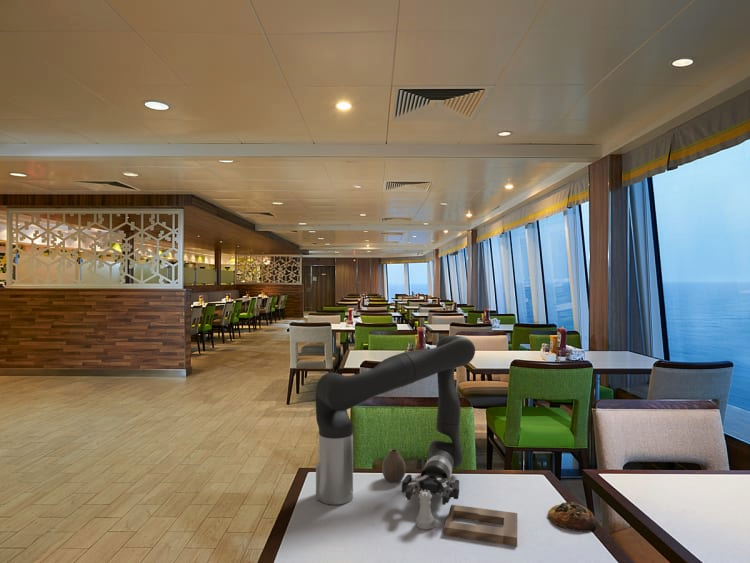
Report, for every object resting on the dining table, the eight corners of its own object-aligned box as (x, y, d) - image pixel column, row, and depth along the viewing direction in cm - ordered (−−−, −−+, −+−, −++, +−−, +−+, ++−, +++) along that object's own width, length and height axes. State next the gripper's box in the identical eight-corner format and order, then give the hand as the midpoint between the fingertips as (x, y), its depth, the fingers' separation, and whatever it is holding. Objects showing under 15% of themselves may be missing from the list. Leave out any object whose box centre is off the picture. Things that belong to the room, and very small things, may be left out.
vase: (403, 486, 135) (403, 455, 135) (380, 484, 137) (380, 453, 137) (406, 476, 142) (407, 447, 142) (384, 474, 143) (384, 445, 143)
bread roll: (588, 537, 107) (585, 514, 108) (541, 527, 114) (538, 506, 115) (604, 521, 115) (601, 500, 116) (559, 513, 122) (556, 493, 123)
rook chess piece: (422, 532, 109) (422, 497, 109) (412, 523, 113) (412, 490, 113) (438, 527, 111) (438, 493, 111) (427, 519, 115) (427, 486, 115)
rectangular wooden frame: (444, 535, 108) (444, 527, 108) (451, 511, 119) (451, 504, 119) (517, 546, 103) (517, 537, 103) (517, 520, 115) (517, 513, 115)
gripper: (411, 457, 131) (397, 479, 115) (463, 462, 127) (455, 486, 111) (411, 484, 131) (397, 510, 115) (463, 490, 126) (455, 518, 111)
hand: (425, 498), depth 113 cm, fingers open, 8 cm apart
